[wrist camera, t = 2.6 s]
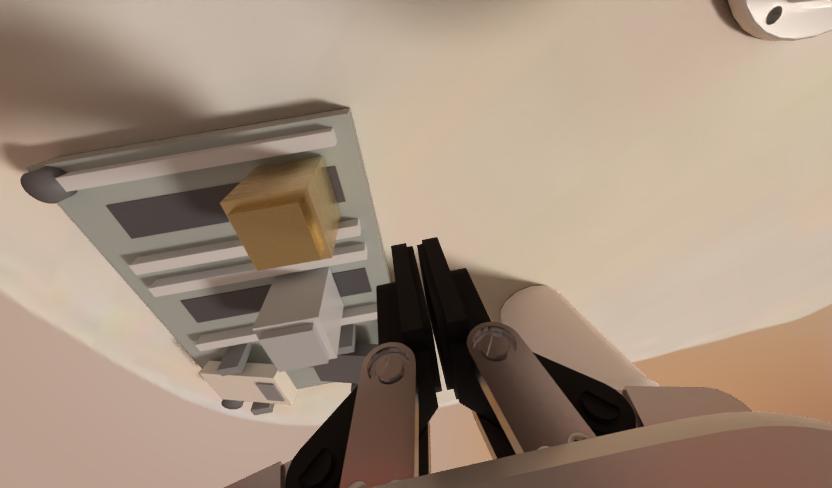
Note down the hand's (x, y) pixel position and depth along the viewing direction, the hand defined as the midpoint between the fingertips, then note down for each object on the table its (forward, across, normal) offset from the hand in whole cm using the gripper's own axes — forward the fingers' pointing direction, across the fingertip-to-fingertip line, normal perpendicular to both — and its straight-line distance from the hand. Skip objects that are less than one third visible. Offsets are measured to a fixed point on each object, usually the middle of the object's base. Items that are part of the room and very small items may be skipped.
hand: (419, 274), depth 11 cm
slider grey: (+10, +8, +8) cm, 15 cm away
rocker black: (+9, +7, +15) cm, 19 cm away
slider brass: (+10, +6, 0) cm, 12 cm away
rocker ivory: (+9, +16, +15) cm, 23 cm away
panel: (+12, +11, +8) cm, 18 cm away
